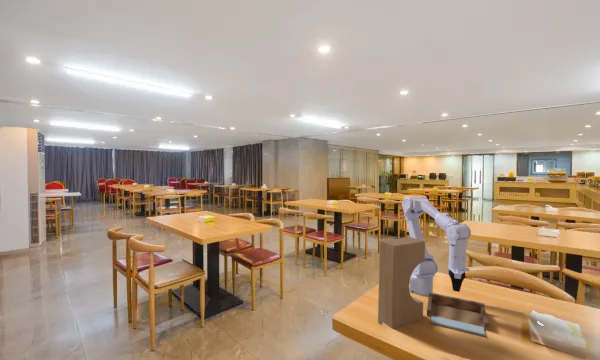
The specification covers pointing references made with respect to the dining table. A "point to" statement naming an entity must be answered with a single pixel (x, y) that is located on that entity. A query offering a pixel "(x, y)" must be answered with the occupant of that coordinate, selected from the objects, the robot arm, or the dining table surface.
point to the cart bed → (457, 310)
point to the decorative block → (399, 281)
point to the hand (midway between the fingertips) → (456, 290)
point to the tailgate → (458, 326)
